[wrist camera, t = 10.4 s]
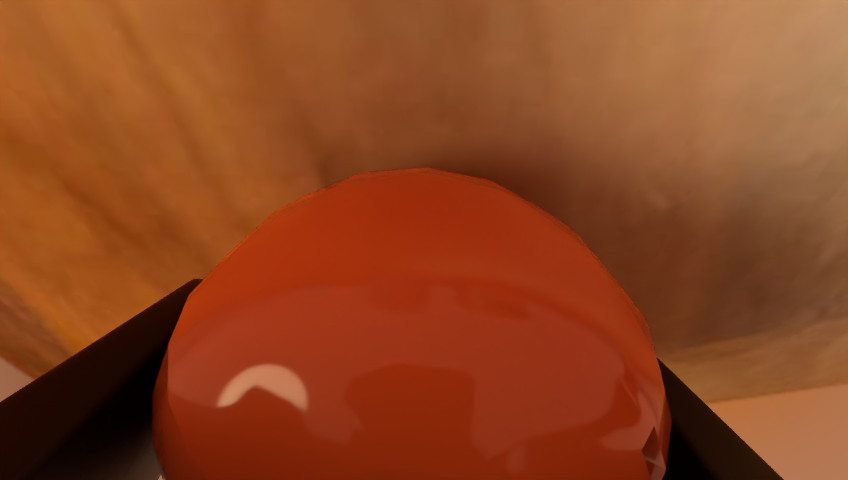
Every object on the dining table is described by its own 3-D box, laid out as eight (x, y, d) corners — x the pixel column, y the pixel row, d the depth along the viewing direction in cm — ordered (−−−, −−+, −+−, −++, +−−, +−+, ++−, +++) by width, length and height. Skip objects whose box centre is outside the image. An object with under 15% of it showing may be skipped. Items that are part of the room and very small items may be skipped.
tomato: (550, 368, 13) (663, 857, 6) (281, 353, 13) (112, 830, 6) (637, 105, 8) (1385, 883, 2) (220, 82, 8) (-632, 781, 2)
